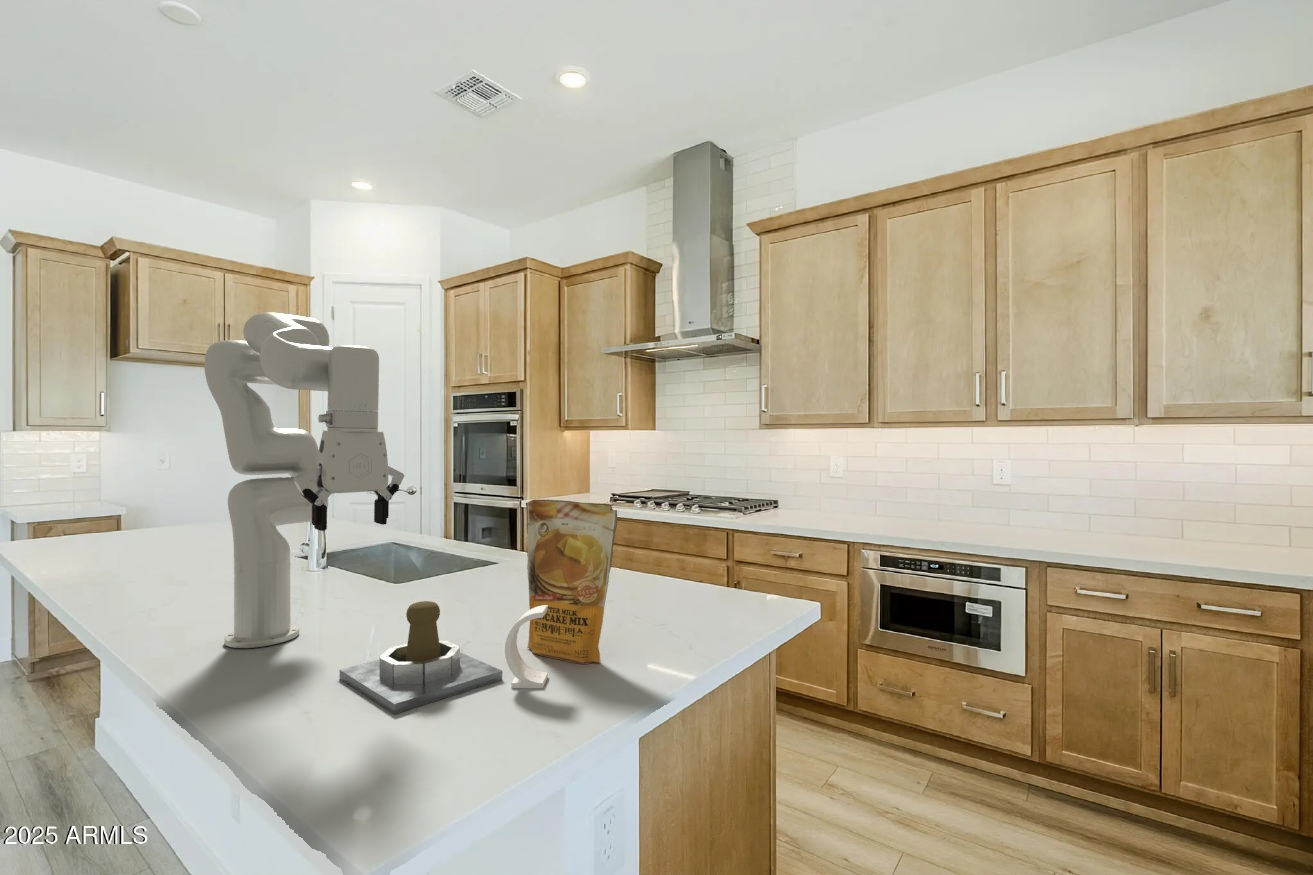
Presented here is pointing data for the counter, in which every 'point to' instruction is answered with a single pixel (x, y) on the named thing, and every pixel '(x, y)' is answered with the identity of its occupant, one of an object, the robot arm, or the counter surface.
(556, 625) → the pancake mix bag
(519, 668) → the headphone stand
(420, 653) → the cork
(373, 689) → the plate
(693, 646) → the counter surface
